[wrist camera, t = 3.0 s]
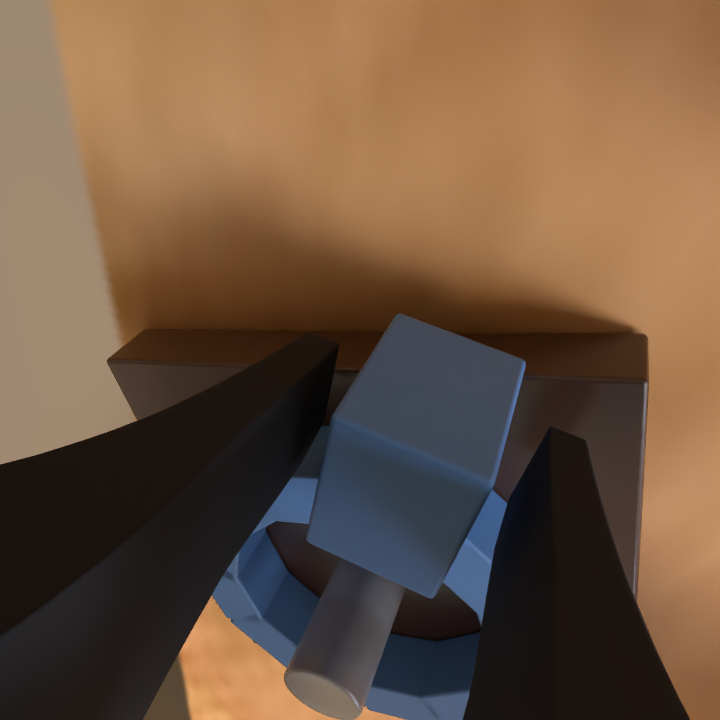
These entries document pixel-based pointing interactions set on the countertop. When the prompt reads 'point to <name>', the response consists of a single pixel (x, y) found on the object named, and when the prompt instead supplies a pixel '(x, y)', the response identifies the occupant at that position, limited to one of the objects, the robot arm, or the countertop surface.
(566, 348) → the platform
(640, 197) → the countertop surface
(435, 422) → the ring
